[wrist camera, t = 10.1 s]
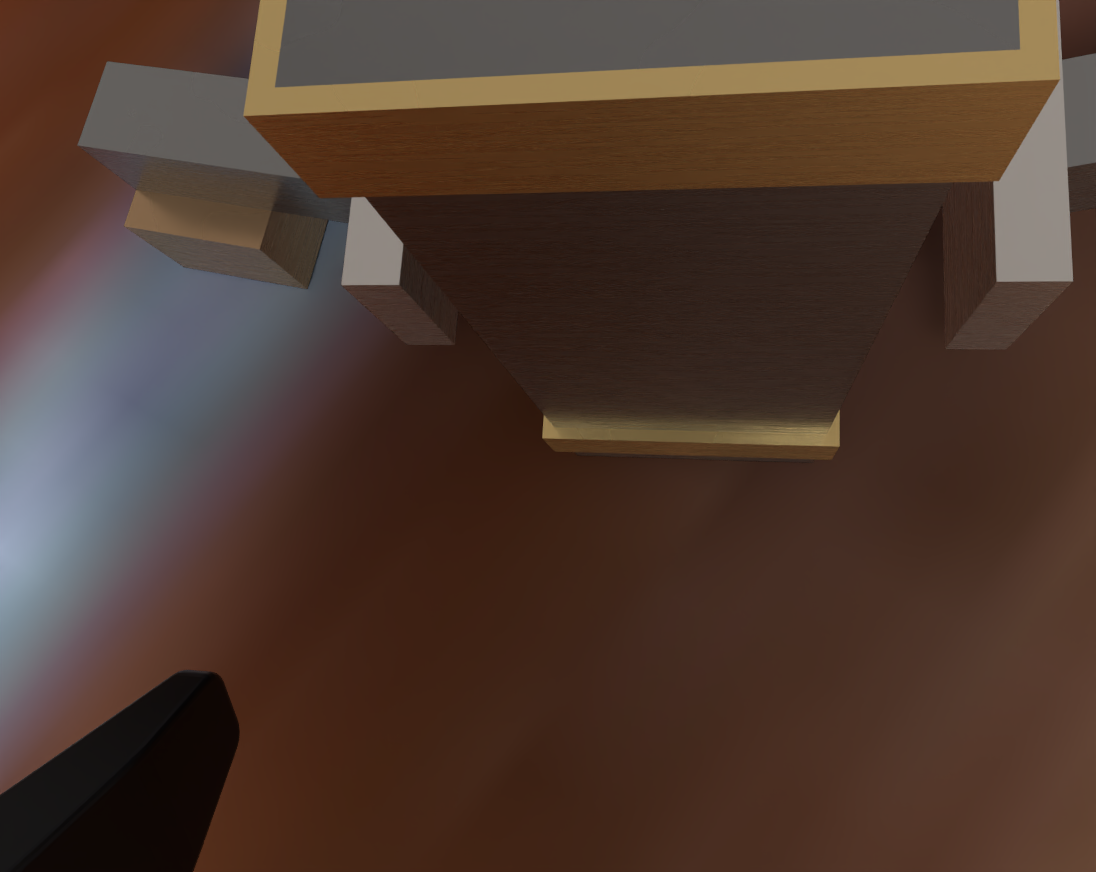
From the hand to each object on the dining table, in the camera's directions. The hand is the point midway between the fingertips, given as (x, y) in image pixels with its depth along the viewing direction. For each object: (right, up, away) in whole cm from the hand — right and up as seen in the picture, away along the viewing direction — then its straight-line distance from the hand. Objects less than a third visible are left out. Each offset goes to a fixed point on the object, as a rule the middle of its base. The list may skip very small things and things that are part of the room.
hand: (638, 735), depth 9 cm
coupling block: (+2, +5, +10) cm, 11 cm away
